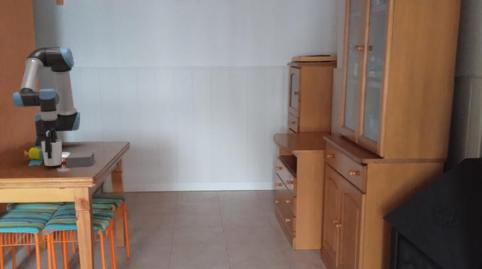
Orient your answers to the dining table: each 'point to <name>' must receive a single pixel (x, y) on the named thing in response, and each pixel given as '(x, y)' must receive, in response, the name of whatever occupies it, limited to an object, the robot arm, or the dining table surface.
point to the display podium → (80, 159)
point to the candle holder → (56, 153)
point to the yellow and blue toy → (35, 155)
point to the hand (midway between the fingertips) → (53, 162)
